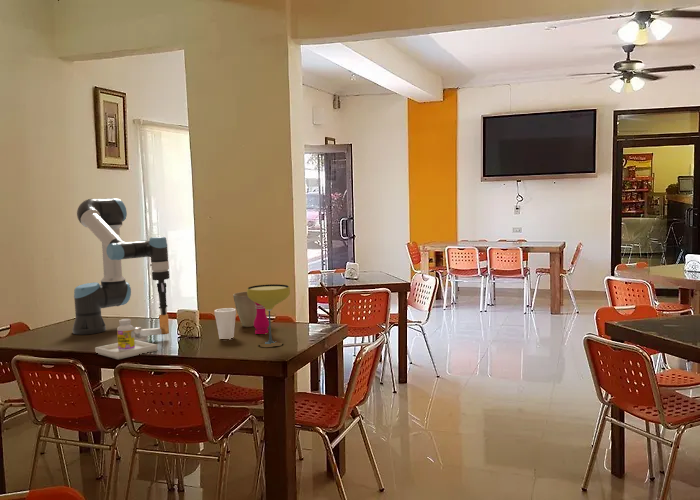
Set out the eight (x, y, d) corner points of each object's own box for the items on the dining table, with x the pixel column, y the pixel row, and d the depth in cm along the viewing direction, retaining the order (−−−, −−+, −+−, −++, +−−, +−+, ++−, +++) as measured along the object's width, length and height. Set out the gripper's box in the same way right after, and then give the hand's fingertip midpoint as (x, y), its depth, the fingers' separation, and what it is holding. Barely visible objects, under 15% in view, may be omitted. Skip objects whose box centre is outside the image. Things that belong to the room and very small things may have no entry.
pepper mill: (266, 335, 302) (265, 292, 300) (251, 335, 303) (250, 292, 301) (271, 332, 309) (270, 289, 307) (257, 331, 310) (255, 289, 308)
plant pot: (237, 322, 334) (236, 291, 333) (267, 322, 333) (265, 291, 332) (231, 328, 319) (230, 296, 318) (261, 328, 319) (260, 295, 317)
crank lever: (131, 337, 291) (130, 318, 291) (131, 335, 296) (130, 316, 295) (169, 334, 296) (168, 315, 295) (169, 332, 300) (168, 313, 299)
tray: (95, 353, 275) (95, 347, 275) (134, 345, 289) (133, 339, 289) (118, 359, 263) (118, 353, 263) (157, 350, 277) (157, 344, 277)
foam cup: (211, 338, 297) (210, 310, 296) (228, 335, 304) (227, 307, 303) (224, 341, 291) (223, 312, 290) (241, 337, 298) (239, 309, 297)
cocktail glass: (300, 342, 285) (298, 285, 283) (274, 351, 269) (272, 291, 267) (266, 338, 294) (264, 283, 292) (240, 347, 279) (238, 289, 276)
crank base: (122, 342, 294) (121, 333, 293) (140, 339, 301) (139, 329, 300) (133, 345, 288) (133, 335, 288) (151, 341, 295) (151, 331, 295)
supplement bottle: (115, 351, 273) (113, 321, 272) (122, 348, 280) (120, 318, 279) (130, 351, 272) (128, 321, 271) (137, 348, 279) (135, 318, 278)
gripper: (150, 269, 303) (154, 320, 305) (152, 273, 291) (156, 325, 294) (167, 268, 306) (171, 318, 308) (170, 271, 294) (174, 323, 296)
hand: (164, 321), depth 301 cm, fingers closed
